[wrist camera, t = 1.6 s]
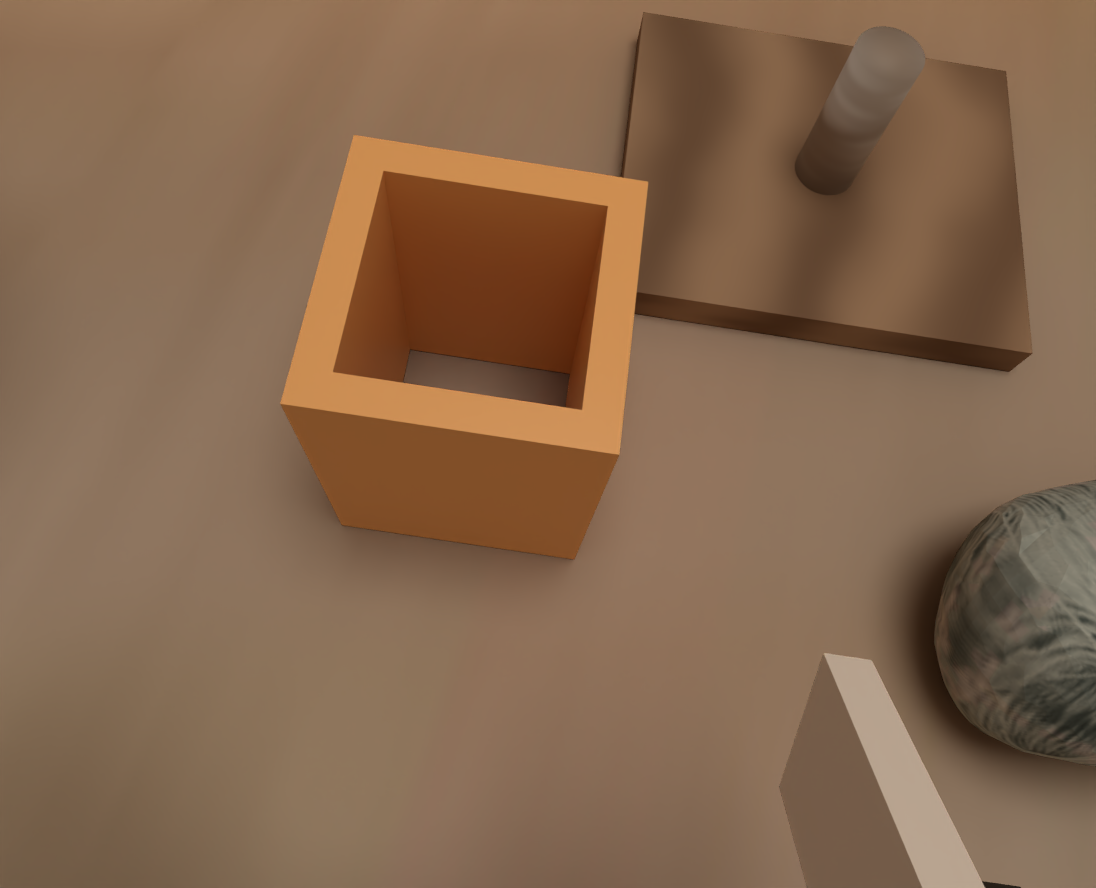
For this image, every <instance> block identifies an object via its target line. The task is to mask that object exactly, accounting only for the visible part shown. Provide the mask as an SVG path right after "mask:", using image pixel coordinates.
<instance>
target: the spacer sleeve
mask: <svg viewBox="0 0 1096 888" xmlns="http://www.w3.org/2000/svg"><path fill="white" fill-rule="evenodd" d="M647 190H648V182H647V181H641V180H634V179H628V178H622V177H616V176H609V175H603V174H597V173H590V172H584V171H578V170H571V169H565V168H559V167H552V166H546V165H540V164H533V163H527V162H521V161H515V160H508V159H502V158H496V157H489V156H483V155H477V154H470V153H464V152H458V151H451V150H445V149H439V148H432V147H426V146H420V145H414V144H407V143H401V142H395V141H388V140H382V139H376V138H369V137H363V136H357V135H354V137H353V140H352V144H351V148H350V151H349V155H348V159H347V162H346V166H345V169H344V173H343V177H342V180H341V184H340V188H339V191H338V195H337V199H336V202H335V206H334V210H333V213H332V217H331V221H330V224H329V228H328V232H327V235H326V239H325V243H324V246H323V250H322V253H321V257H320V261H319V264H318V268H317V272H316V275H315V279H314V283H313V286H312V290H311V294H310V297H309V301H308V305H307V308H306V312H305V316H304V319H303V323H302V327H301V330H300V334H299V337H298V341H297V345H296V348H295V352H294V356H293V359H292V363H291V367H290V370H289V374H288V378H287V381H286V385H285V389H284V392H283V396H282V400H281V403H280V404H281V406H282V408H283V410H284V412H285V414H286V416H287V418H288V420H289V422H290V424H291V426H292V428H293V430H294V432H295V434H296V436H297V437H298V439H299V441H300V443H301V445H302V447H303V449H304V451H305V453H306V455H307V457H308V459H309V461H310V463H311V465H312V467H313V469H314V471H315V473H316V475H317V477H318V479H319V481H320V483H321V485H322V487H323V489H324V491H325V493H326V495H327V497H328V499H329V501H330V503H331V505H332V507H333V509H334V511H335V513H336V515H337V517H338V519H339V521H340V522H341V524H342V525H344V526H351V527H358V528H364V529H371V530H378V531H385V532H391V533H398V534H405V535H412V536H419V537H425V538H432V539H439V540H446V541H452V542H459V543H466V544H473V545H479V546H486V547H493V548H500V549H507V550H513V551H520V552H527V553H534V554H540V555H547V556H554V557H561V558H567V559H575V557H576V554H577V552H578V550H579V547H580V545H581V543H582V540H583V538H584V536H585V533H586V531H587V529H588V526H589V524H590V522H591V519H592V517H593V515H594V512H595V510H596V508H597V505H598V503H599V501H600V498H601V496H602V494H603V491H604V489H605V487H606V484H607V482H608V480H609V477H610V475H611V473H612V470H613V468H614V466H615V463H616V461H617V459H618V457H619V452H620V443H621V434H622V424H623V415H624V406H625V396H626V387H627V377H628V368H629V359H630V349H631V340H632V330H633V321H634V312H635V302H636V293H637V284H638V274H639V265H640V255H641V246H642V237H643V227H644V218H645V208H646V199H647ZM410 349H411V350H417V351H424V352H430V353H437V354H443V355H450V356H457V357H463V358H470V359H476V360H483V361H489V362H496V363H502V364H509V365H515V366H522V367H529V368H535V369H542V370H548V371H555V372H561V373H568V374H570V377H569V384H568V391H567V399H566V406H565V407H559V406H552V405H546V404H539V403H533V402H526V401H520V400H513V399H506V398H500V397H493V396H487V395H480V394H473V393H467V392H460V391H454V390H447V389H441V388H434V387H427V386H421V385H414V384H408V383H403V380H404V375H405V370H406V366H407V361H408V357H409V352H410Z"/></svg>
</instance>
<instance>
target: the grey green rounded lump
mask: <svg viewBox="0 0 1096 888" xmlns="http://www.w3.org/2000/svg"><path fill="white" fill-rule="evenodd" d="M934 644H935V649H936V653H937V657H938V662H939V666H940V670H941V674H942V678H943V680H944V683H945V686H946V688H947V690H948V692H949V694H950V696H951V698H952V700H953V701H954V703H955V705H956V706H957V708H958V709H959V711H960V712H961V713H962V714H963V715H964V716H965V717H966V719H967V720H968V721H969V722H970V723H971V724H973V725H974V726H975V727H977V728H978V729H979V730H980V731H982V732H983V733H985V734H987V735H989V736H991V737H993V738H995V739H997V740H999V741H1001V742H1003V743H1005V744H1007V745H1009V746H1011V747H1013V748H1015V749H1018V750H1020V751H1022V752H1026V753H1031V754H1035V755H1039V756H1044V757H1049V758H1054V759H1060V760H1064V761H1069V762H1074V763H1079V764H1084V765H1089V766H1095V767H1096V480H1093V481H1087V482H1080V483H1075V484H1070V485H1065V486H1060V487H1055V488H1050V489H1046V490H1042V491H1039V492H1035V493H1030V494H1025V495H1022V496H1020V497H1018V498H1015V499H1013V500H1011V501H1009V502H1007V503H1005V504H1003V505H1001V506H999V507H998V508H996V509H995V510H994V511H993V512H992V513H990V514H989V515H988V516H987V517H986V518H985V519H984V520H983V521H981V522H980V523H979V524H978V525H977V526H976V527H975V528H974V529H973V530H972V531H971V532H970V534H969V535H968V537H967V538H966V540H965V541H964V543H963V544H962V546H961V548H960V549H959V551H958V552H957V554H956V556H955V558H954V560H953V562H952V564H951V566H950V568H949V570H948V572H947V576H946V579H945V582H944V585H943V589H942V594H941V598H940V603H939V608H938V612H937V617H936V621H935V635H934Z"/></svg>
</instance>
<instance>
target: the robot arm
mask: <svg viewBox="0 0 1096 888" xmlns="http://www.w3.org/2000/svg"><path fill="white" fill-rule="evenodd" d="M779 788H780V792H781V796H782V799H783V803H784V806H785V810H786V814H787V817H788V821H789V824H790V828H791V832H792V835H793V839H794V843H795V846H796V850H797V853H798V857H799V861H800V864H801V868H802V871H803V875H804V879H805V882H806V886H807V888H1021V887H1018V886H1011V885H1004V884H997V883H990V882H983V881H981V879H980V877H979V875H978V873H977V871H976V869H975V867H974V865H973V863H972V861H971V859H970V857H969V855H968V853H967V851H966V848H965V846H964V844H963V842H962V840H961V838H960V836H959V834H958V832H957V830H956V828H955V826H954V824H953V822H952V820H951V818H950V816H949V814H948V812H947V810H946V808H945V806H944V804H943V802H942V800H941V798H940V796H939V794H938V792H937V790H936V788H935V786H934V784H933V782H932V780H931V778H930V776H929V774H928V772H927V770H926V768H925V766H924V764H923V762H922V760H921V758H920V756H919V754H918V752H917V750H916V748H915V746H914V744H913V742H912V740H911V738H910V736H909V734H908V732H907V730H906V728H905V726H904V724H903V722H902V720H901V718H900V716H899V714H898V712H897V710H896V708H895V706H894V704H893V702H892V700H891V698H890V696H889V694H888V692H887V690H886V688H885V686H884V684H883V682H882V680H881V678H880V676H879V674H878V672H877V670H876V668H875V666H874V664H873V662H872V660H867V659H861V658H854V657H847V656H841V655H834V654H828V653H823V656H822V659H821V662H820V665H819V668H818V671H817V674H816V677H815V680H814V683H813V686H812V689H811V692H810V695H809V698H808V701H807V704H806V707H805V710H804V713H803V716H802V719H801V722H800V725H799V728H798V731H797V734H796V737H795V740H794V743H793V746H792V749H791V752H790V755H789V758H788V761H787V764H786V767H785V770H784V773H783V777H782V780H781V783H780V786H779Z"/></svg>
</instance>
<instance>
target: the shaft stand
mask: <svg viewBox="0 0 1096 888" xmlns="http://www.w3.org/2000/svg"><path fill="white" fill-rule="evenodd" d="M621 177H622V178H628V179H634V180H641V181H647V182H648V190H647V199H646V208H645V218H644V227H643V237H642V246H641V255H640V265H639V274H638V284H637V293H636V302H635V312H634V313H635V314H642V315H648V316H655V317H661V318H668V319H674V320H681V321H687V322H694V323H700V324H707V325H713V326H719V327H726V328H732V329H739V330H745V331H752V332H758V333H765V334H771V335H778V336H784V337H791V338H797V339H803V340H810V341H816V342H823V343H829V344H836V345H842V346H849V347H855V348H862V349H868V350H875V351H881V352H887V353H894V354H900V355H907V356H913V357H920V358H926V359H933V360H939V361H946V362H952V363H959V364H965V365H971V366H978V367H984V368H991V369H997V370H1004V371H1011V370H1012V369H1013V368H1014V367H1016V366H1017V365H1018V364H1020V363H1021V362H1022V361H1023V360H1025V359H1026V358H1027V357H1029V356H1030V355H1031V354H1032V343H1031V333H1030V322H1029V311H1028V301H1027V290H1026V279H1025V269H1024V258H1023V247H1022V237H1021V226H1020V215H1019V205H1018V194H1017V183H1016V173H1015V162H1014V151H1013V141H1012V130H1011V119H1010V109H1009V98H1008V87H1007V77H1006V71H1001V70H995V69H989V68H983V67H977V66H971V65H965V64H959V63H952V62H946V61H940V60H934V59H928V58H925V54H924V51H923V49H922V47H921V46H920V44H919V43H918V42H917V41H916V40H915V39H914V38H913V37H912V36H910V35H909V34H907V33H906V32H904V31H901V30H899V29H896V28H892V27H874V28H871V29H868V30H866V31H865V32H863V33H862V34H861V35H860V36H859V38H858V40H857V42H856V44H855V45H854V46H848V45H842V44H836V43H830V42H824V41H818V40H811V39H805V38H799V37H793V36H787V35H781V34H775V33H768V32H762V31H756V30H750V29H744V28H738V27H732V26H726V25H719V24H713V23H707V22H701V21H695V20H689V19H683V18H676V17H670V16H664V15H658V14H652V13H646V12H643V17H642V22H641V26H640V31H639V36H638V40H637V49H636V57H635V65H634V73H633V81H632V90H631V98H630V106H629V114H628V122H627V131H626V139H625V147H624V155H623V163H622V172H621Z"/></svg>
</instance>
